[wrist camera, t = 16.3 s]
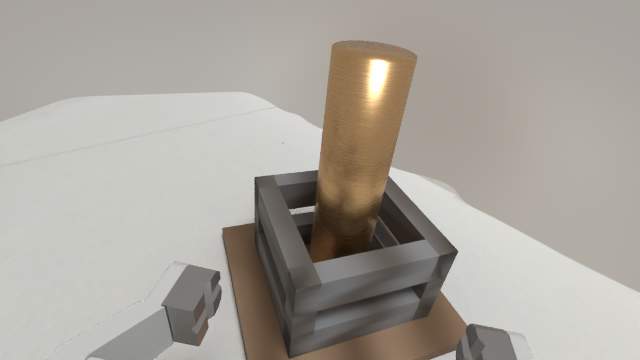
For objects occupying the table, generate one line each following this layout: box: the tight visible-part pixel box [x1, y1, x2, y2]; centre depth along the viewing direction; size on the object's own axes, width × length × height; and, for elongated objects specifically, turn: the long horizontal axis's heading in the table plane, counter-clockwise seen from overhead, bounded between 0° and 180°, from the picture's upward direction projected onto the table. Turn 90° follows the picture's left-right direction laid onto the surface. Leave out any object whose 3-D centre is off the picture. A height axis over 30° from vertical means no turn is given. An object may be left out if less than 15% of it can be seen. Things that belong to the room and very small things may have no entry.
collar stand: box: [222, 170, 468, 360], centre depth 26 cm, size 16×16×8 cm
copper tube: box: [309, 41, 417, 263], centre depth 23 cm, size 4×4×18 cm
